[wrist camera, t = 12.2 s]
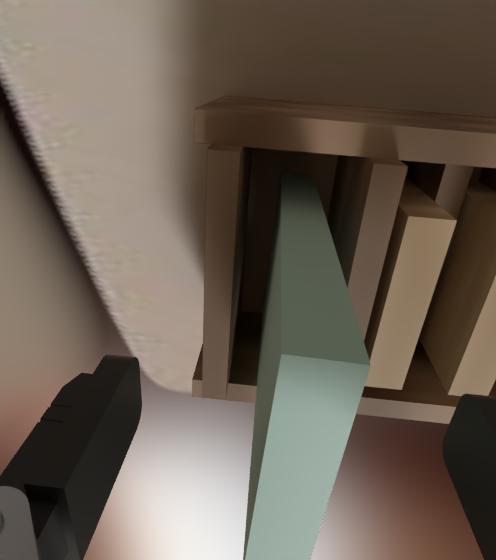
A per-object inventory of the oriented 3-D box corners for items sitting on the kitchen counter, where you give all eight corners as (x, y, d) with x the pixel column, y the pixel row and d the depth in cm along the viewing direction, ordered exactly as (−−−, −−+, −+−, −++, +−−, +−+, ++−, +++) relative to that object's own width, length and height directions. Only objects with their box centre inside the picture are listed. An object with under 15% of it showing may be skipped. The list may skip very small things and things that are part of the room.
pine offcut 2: (470, 177, 19) (564, 230, 12) (428, 306, 22) (486, 398, 16) (437, 174, 19) (515, 225, 12) (400, 303, 22) (447, 394, 16)
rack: (577, 124, 19) (777, 160, 11) (487, 336, 24) (580, 455, 17) (224, 96, 19) (187, 112, 12) (216, 309, 25) (187, 413, 17)
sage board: (312, 174, 19) (371, 365, 7) (290, 300, 22) (301, 585, 10) (281, 170, 19) (281, 354, 7) (263, 296, 22) (241, 577, 10)
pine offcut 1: (398, 171, 19) (456, 220, 13) (367, 300, 22) (401, 389, 16) (366, 168, 19) (408, 216, 13) (340, 297, 22) (363, 385, 16)
